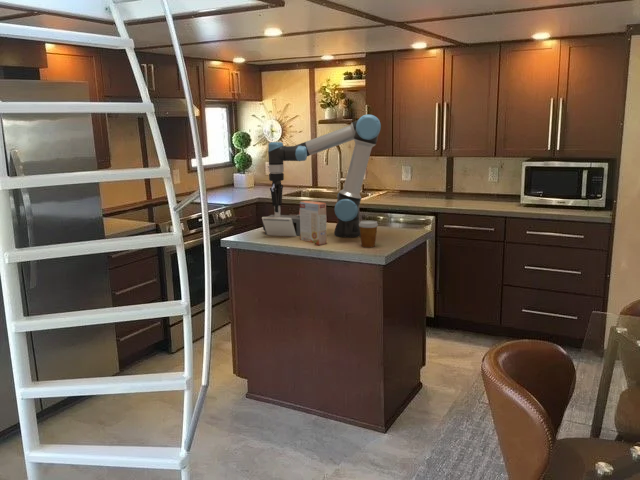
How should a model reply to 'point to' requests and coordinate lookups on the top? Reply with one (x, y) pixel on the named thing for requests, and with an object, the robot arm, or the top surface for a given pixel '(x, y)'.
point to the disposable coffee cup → (368, 233)
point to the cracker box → (313, 222)
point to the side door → (279, 226)
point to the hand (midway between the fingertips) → (277, 218)
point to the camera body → (294, 219)
